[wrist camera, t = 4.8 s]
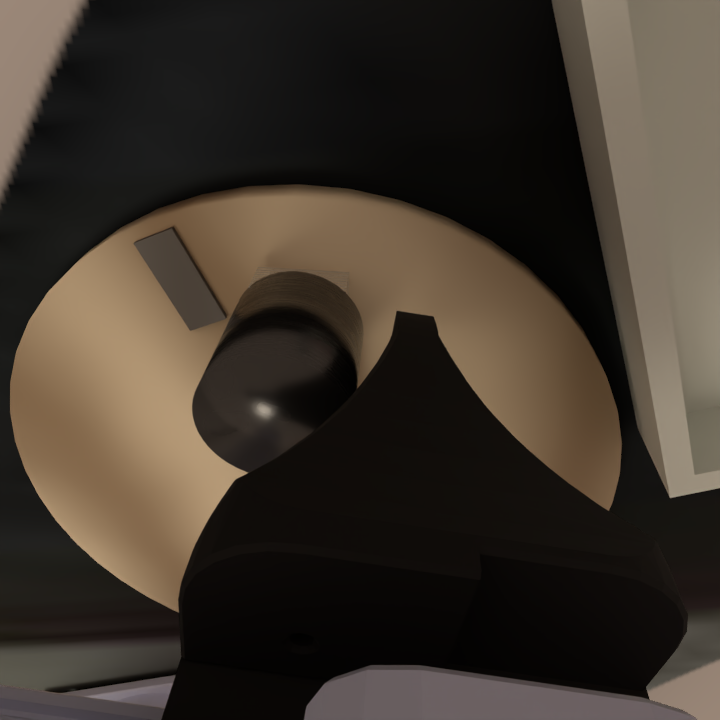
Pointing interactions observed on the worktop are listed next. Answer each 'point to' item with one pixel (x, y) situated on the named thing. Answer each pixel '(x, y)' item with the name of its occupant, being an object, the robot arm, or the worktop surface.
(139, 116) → the worktop surface
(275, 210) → the crank plate
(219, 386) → the dark grey cylinder
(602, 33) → the tray
